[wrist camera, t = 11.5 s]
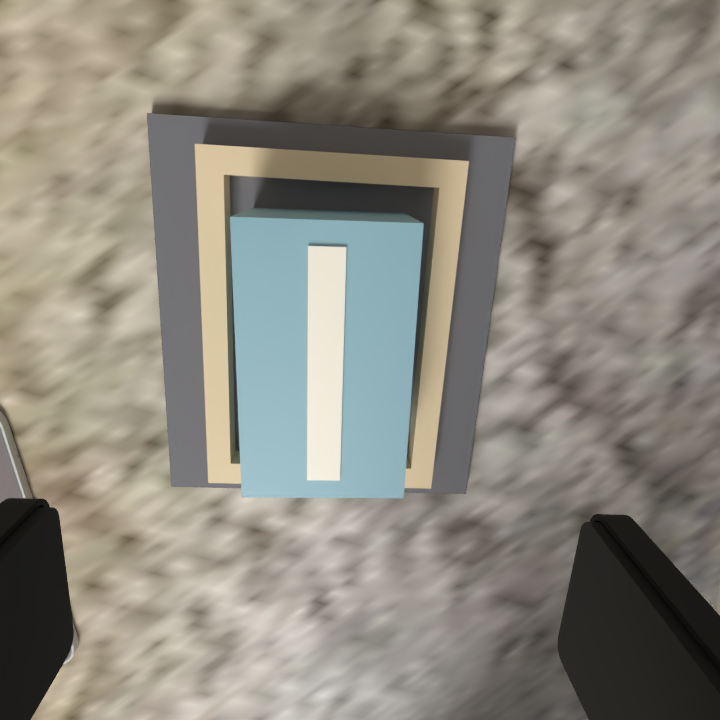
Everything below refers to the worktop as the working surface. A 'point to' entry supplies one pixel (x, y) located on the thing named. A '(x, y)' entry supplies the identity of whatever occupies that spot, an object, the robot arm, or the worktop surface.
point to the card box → (324, 350)
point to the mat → (323, 192)
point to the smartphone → (17, 483)
